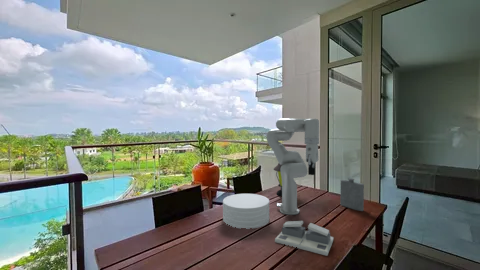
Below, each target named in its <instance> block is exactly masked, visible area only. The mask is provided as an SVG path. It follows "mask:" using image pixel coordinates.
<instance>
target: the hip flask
mask: <svg viewBox="0 0 480 270" xmlns="http://www.w3.org/2000/svg"><path fill="white" fill-rule="evenodd" d="M364 187H365V183H361V182H360V183H359V182H355V178H351V177H349V178H348V179H347V180H346V179H341V180H340V198H339V199H340V201H339V202H340V206H342V207H345V208H347V209H352V210H354V211H360V212H364V205H365V204H364V203H365V201H364V197H365V195H364V194H365V190H364V189H365V188H364Z"/></svg>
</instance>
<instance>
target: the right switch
mask: <svg viewBox="0 0 480 270" xmlns="http://www.w3.org/2000/svg"><path fill="white" fill-rule="evenodd" d="M307 229H311V230H313V231H315V232H318V233H320V234H322V235H325V236H327V235H328V233H330V229H327V228H325V227H323V226H322V227H321V225H317V224H315V223H312V222H310V223H309V224H308V225H307Z"/></svg>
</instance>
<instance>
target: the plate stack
mask: <svg viewBox="0 0 480 270" xmlns="http://www.w3.org/2000/svg"><path fill="white" fill-rule="evenodd" d="M222 221H223V223H224V222H225V223H226V224H225V223H224V224H225V225H227V224H228V225H227V226H229V225H230V226H229V227H231V226H232V227H231V228H235V227H236V229H241V228H246V229H247V230H250V228H252V229H256V228H257V229H258V228H261V227H265V226H266V225H268V223H269V222H270V198H268V197H266V196H264V195H261V194H256V193H236V194H230V195H228V196H225V197H224V198H223V200H222ZM246 229H245V230H246Z"/></svg>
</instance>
